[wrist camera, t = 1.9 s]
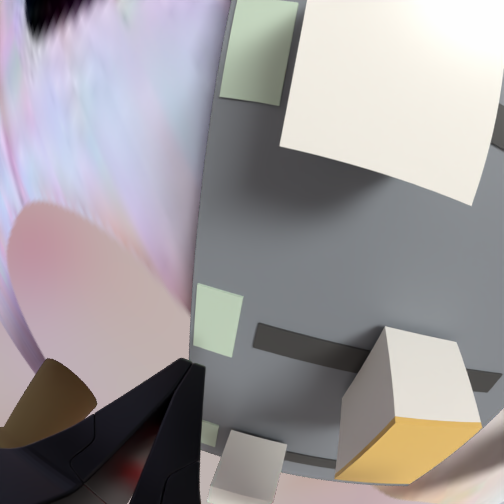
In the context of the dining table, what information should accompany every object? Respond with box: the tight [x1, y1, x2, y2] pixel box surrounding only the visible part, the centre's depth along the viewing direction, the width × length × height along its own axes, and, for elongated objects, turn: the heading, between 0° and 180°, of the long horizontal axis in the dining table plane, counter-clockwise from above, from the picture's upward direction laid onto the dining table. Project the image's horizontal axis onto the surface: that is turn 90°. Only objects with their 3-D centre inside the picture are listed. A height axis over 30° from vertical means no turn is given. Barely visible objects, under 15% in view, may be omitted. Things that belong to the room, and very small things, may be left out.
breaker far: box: [207, 430, 287, 504], centre depth 13 cm, size 3×4×4 cm
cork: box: [0, 358, 97, 448], centre depth 16 cm, size 6×6×11 cm
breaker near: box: [280, 0, 504, 206], centre depth 4 cm, size 3×4×4 cm
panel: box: [189, 0, 504, 486], centre depth 11 cm, size 16×24×2 cm, turn 171°
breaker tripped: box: [334, 326, 482, 484], centre depth 8 cm, size 3×4×4 cm
